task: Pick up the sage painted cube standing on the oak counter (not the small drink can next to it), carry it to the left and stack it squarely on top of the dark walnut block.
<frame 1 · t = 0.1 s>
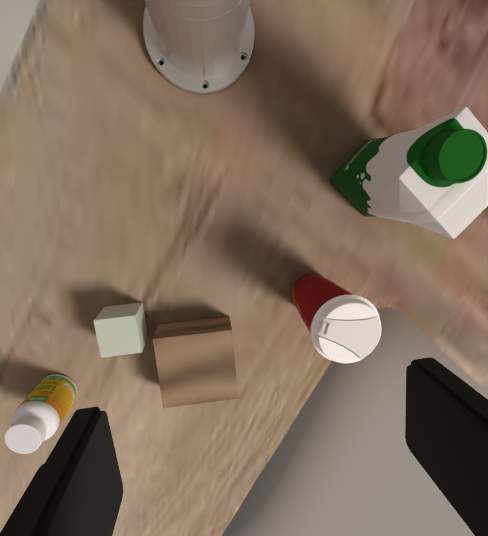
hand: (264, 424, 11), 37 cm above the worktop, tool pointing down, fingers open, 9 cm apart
walnut block: (197, 351, 50), on the worktop
sage block: (127, 321, 47), on the worktop
milk carton: (364, 179, 46), on the worktop
paper cup: (311, 292, 49), on the worktop
supplement bottle: (59, 389, 49), on the worktop
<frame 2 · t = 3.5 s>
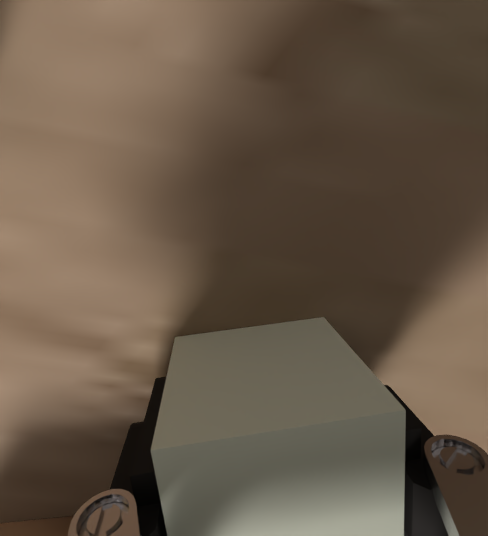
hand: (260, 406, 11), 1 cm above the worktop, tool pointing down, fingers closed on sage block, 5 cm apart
sage block: (257, 392, 12), on the worktop, touching gripper
when the fingers open (6 cm above the worktop, at t = 7.5 s): sage block stays where it is, resting on walnut block.
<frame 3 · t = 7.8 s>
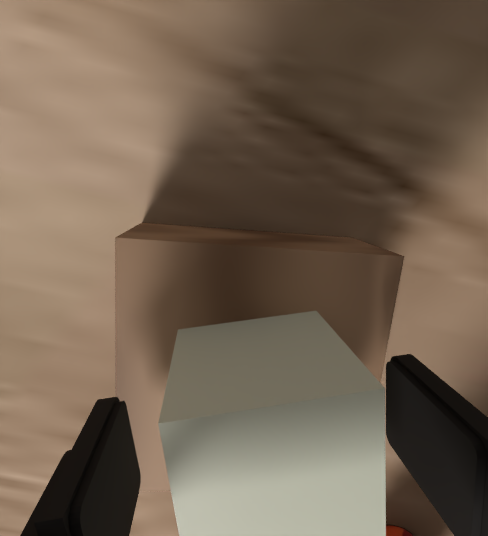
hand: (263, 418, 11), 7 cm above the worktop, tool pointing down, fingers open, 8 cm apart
walnut block: (241, 326, 18), on the worktop, touching sage block
sage block: (254, 381, 13), point 5 cm above the worktop, touching walnut block
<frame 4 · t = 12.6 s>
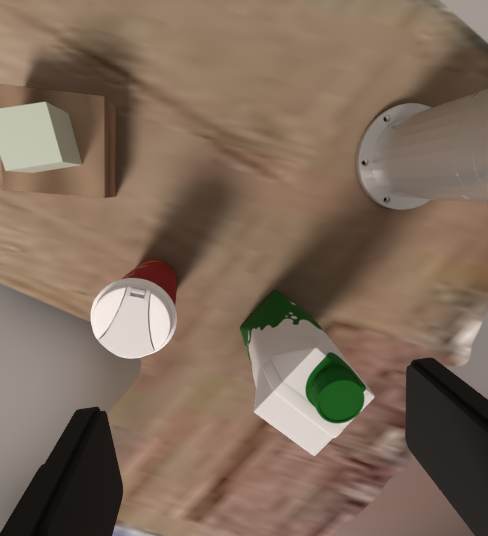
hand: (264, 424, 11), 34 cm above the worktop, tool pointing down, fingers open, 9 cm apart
walnut block: (71, 148, 40), on the worktop
sage block: (50, 143, 35), point 5 cm above the worktop
milk carton: (274, 323, 47), on the worktop
paper cup: (154, 281, 44), on the worktop
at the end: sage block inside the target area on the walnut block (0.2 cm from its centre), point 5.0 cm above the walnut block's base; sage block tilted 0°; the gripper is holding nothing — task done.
